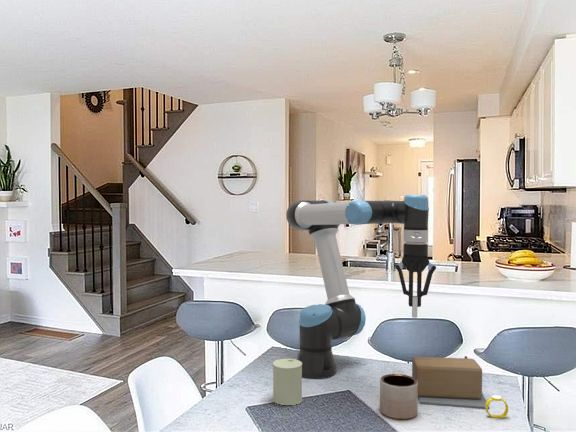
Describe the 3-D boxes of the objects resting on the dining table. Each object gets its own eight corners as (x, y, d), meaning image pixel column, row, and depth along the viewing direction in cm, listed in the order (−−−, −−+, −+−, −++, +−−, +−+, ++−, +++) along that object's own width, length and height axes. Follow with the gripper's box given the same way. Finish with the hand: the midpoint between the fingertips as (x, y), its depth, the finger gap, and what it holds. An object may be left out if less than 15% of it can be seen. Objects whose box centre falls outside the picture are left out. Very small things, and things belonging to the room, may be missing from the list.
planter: (394, 423, 136) (394, 389, 135) (372, 408, 146) (372, 376, 145) (425, 416, 140) (426, 383, 140) (402, 402, 150) (402, 371, 150)
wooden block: (411, 385, 162) (474, 388, 160) (415, 397, 152) (482, 400, 150) (411, 355, 162) (474, 357, 160) (416, 365, 152) (483, 368, 150)
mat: (419, 403, 149) (419, 401, 149) (416, 384, 165) (416, 382, 165) (489, 409, 145) (489, 407, 145) (479, 389, 161) (479, 387, 161)
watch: (487, 419, 139) (486, 398, 139) (484, 415, 142) (483, 395, 141) (509, 419, 138) (508, 398, 138) (506, 415, 141) (505, 394, 141)
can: (306, 396, 155) (306, 358, 154) (297, 407, 146) (297, 368, 145) (278, 392, 158) (278, 355, 157) (268, 403, 149) (268, 364, 149)
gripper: (394, 243, 153) (393, 318, 154) (438, 244, 151) (437, 320, 152) (394, 241, 161) (393, 313, 161) (435, 242, 158) (434, 315, 159)
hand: (414, 316), depth 156 cm, fingers closed
